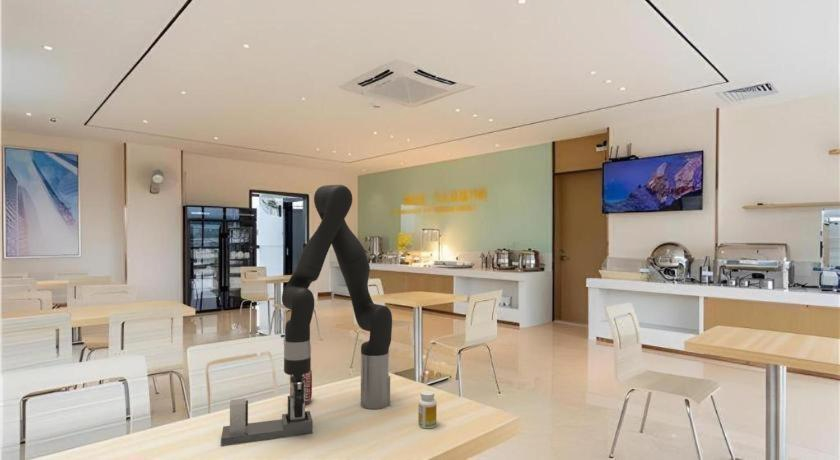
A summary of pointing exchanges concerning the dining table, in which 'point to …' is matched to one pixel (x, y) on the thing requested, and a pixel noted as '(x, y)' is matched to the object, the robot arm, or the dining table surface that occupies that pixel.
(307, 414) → the rail
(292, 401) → the block
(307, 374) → the soda can
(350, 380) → the dining table surface
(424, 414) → the supplement bottle
